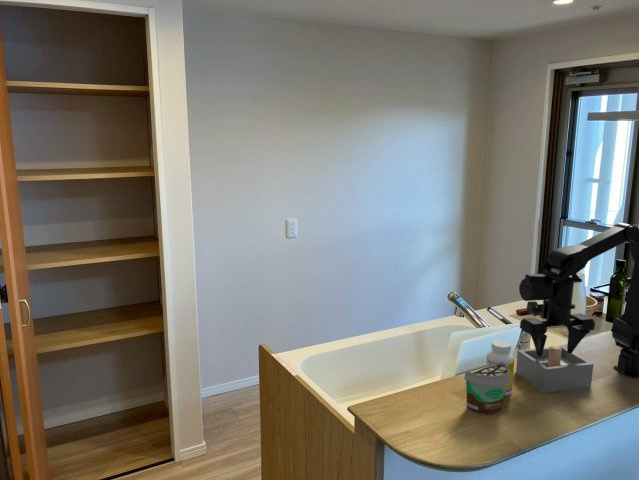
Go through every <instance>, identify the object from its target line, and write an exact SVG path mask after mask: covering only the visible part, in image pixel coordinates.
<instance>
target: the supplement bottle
mask: <svg viewBox="0 0 639 480" xmlns="http://www.w3.org/2000/svg"><path fill="white" fill-rule="evenodd" d="M511 350H512V344H511V343H510V342H509V341H506V340H503V339H502V340H501V339H497V340H496V339H495V340H492V342H491V350H489V351H488V352H487V353H486V363H485V364H486V365H485V368H487V367H495V366H498V365H500V363H501V361H502V362H503V363H505V364H506V365H507V366H508V369H509V371H510V380H509V381H508V382H507V384H506V389H505V395H504V397H505V396H508V395H511V394H512V393H513V385H514V371H515V370H514V369H515V356H514V353H512V351H511Z"/></svg>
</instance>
